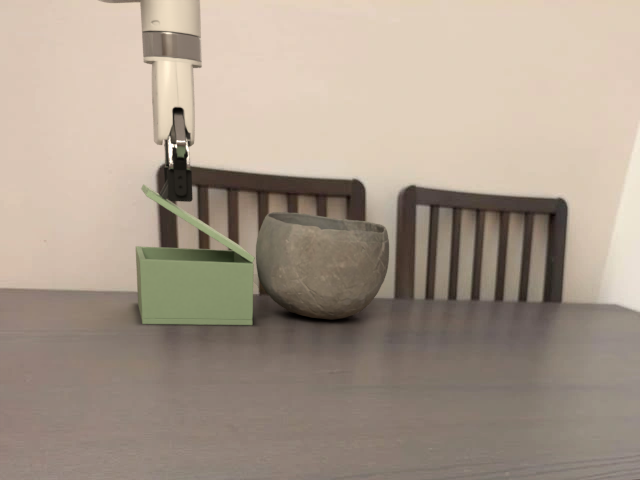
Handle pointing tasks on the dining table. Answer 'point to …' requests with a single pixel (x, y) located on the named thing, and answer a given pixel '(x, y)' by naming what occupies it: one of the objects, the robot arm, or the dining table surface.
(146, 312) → the green open box
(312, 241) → the bowl
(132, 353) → the dining table surface
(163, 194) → the lid
